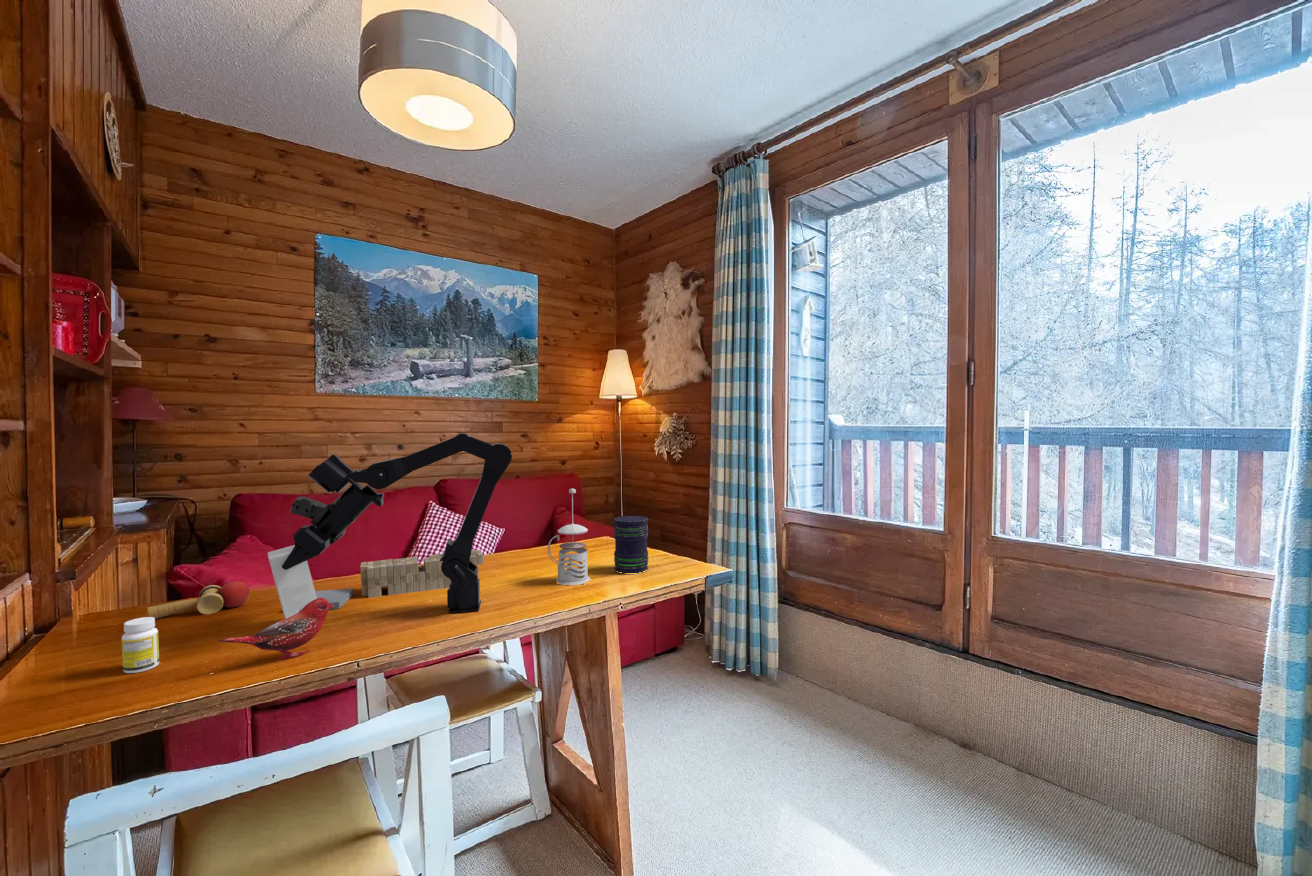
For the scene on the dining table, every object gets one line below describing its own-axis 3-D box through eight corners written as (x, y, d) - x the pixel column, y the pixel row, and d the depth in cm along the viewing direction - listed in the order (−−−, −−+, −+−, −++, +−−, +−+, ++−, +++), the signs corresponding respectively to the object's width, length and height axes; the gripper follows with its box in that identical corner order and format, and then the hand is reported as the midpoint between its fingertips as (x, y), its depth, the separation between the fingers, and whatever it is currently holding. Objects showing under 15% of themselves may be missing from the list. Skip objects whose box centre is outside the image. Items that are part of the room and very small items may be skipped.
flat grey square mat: (354, 594, 140) (353, 588, 140) (339, 608, 129) (339, 602, 129) (305, 597, 138) (305, 591, 138) (285, 612, 127) (285, 605, 127)
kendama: (148, 632, 119) (251, 604, 130) (142, 603, 119) (245, 577, 130) (154, 628, 125) (252, 601, 136) (148, 600, 126) (246, 575, 136)
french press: (589, 585, 146) (588, 490, 145) (544, 586, 146) (543, 490, 145) (593, 575, 156) (592, 486, 155) (552, 575, 156) (551, 486, 155)
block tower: (361, 603, 137) (485, 583, 149) (359, 569, 136) (483, 552, 149) (362, 594, 144) (480, 576, 156) (360, 562, 143) (479, 546, 156)
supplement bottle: (138, 662, 101) (136, 616, 100) (166, 661, 101) (165, 615, 101) (114, 674, 96) (113, 626, 96) (144, 673, 96) (142, 625, 96)
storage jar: (610, 573, 158) (609, 521, 157) (618, 565, 167) (618, 515, 167) (645, 575, 156) (644, 521, 156) (651, 566, 166) (650, 515, 165)
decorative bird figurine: (337, 648, 106) (336, 596, 106) (220, 679, 94) (218, 620, 93) (333, 644, 108) (331, 593, 108) (217, 673, 96) (216, 615, 96)
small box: (320, 607, 118) (304, 549, 116) (285, 619, 114) (268, 559, 113) (315, 597, 125) (300, 542, 123) (282, 609, 121) (266, 552, 119)
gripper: (328, 478, 128) (274, 530, 126) (303, 487, 111) (240, 547, 108) (367, 510, 131) (315, 561, 128) (349, 524, 113) (288, 584, 110)
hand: (291, 563), depth 118 cm, fingers closed on small box, 9 cm apart
